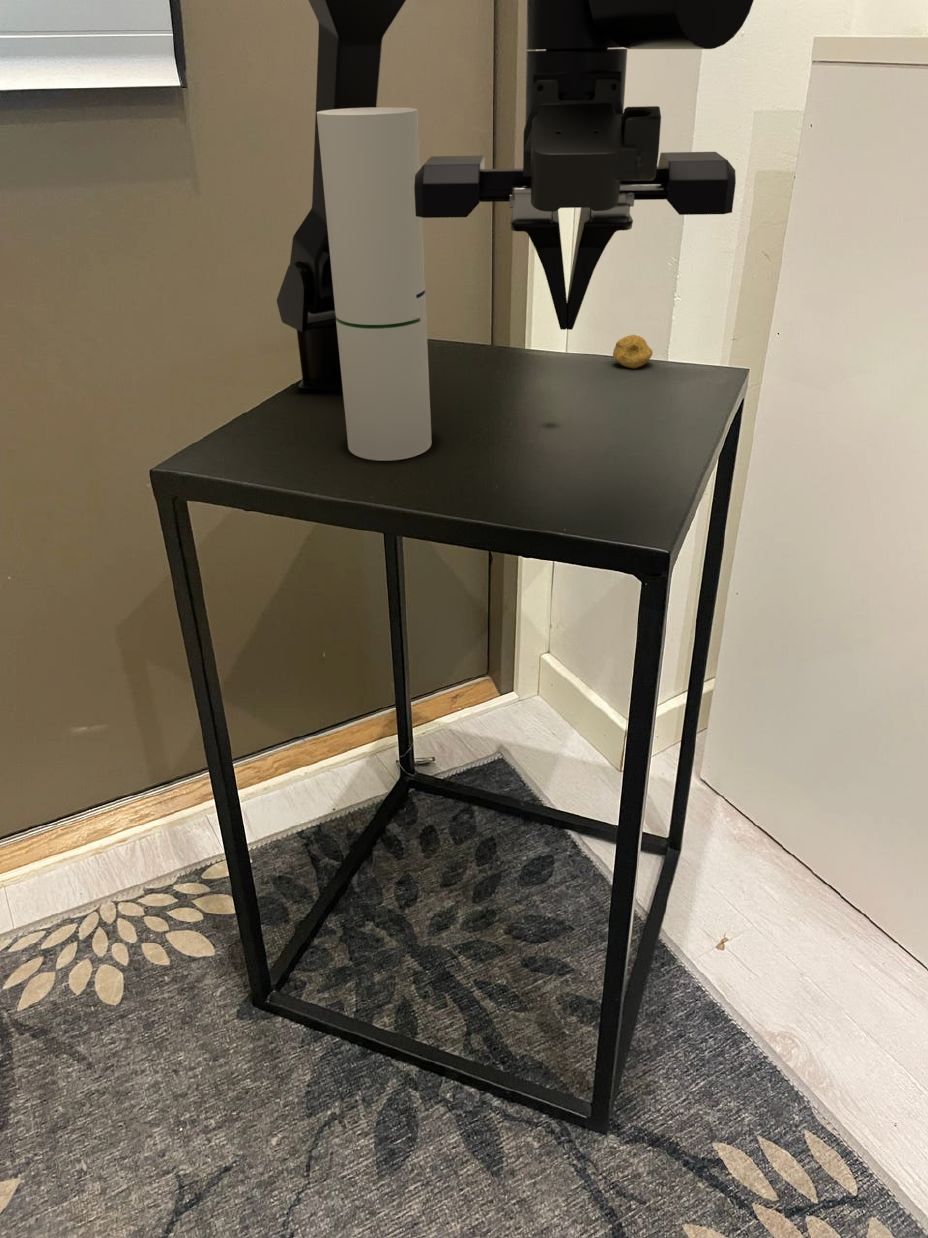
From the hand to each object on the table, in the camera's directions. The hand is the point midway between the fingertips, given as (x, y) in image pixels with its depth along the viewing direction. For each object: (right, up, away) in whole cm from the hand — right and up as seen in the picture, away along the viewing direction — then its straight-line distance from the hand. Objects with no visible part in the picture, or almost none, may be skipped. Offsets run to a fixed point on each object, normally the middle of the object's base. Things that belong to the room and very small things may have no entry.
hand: (566, 328), depth 61 cm
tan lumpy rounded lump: (+11, +7, +35) cm, 37 cm away
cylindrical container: (-13, -4, +18) cm, 23 cm away
